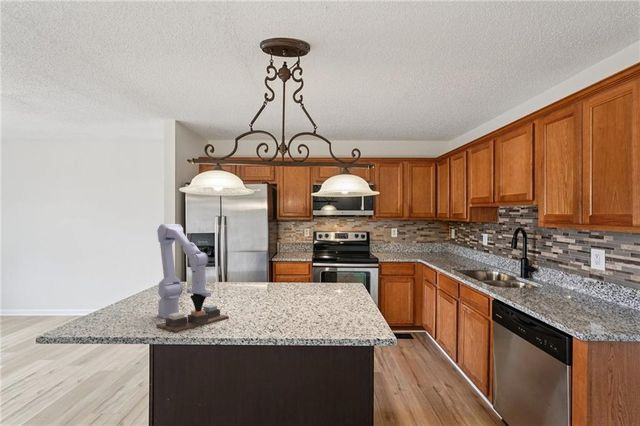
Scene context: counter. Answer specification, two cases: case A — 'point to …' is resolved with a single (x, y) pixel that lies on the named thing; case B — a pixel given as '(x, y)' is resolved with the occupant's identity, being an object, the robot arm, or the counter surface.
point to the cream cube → (176, 316)
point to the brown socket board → (192, 321)
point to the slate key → (210, 308)
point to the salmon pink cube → (198, 313)
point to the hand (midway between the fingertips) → (198, 311)
